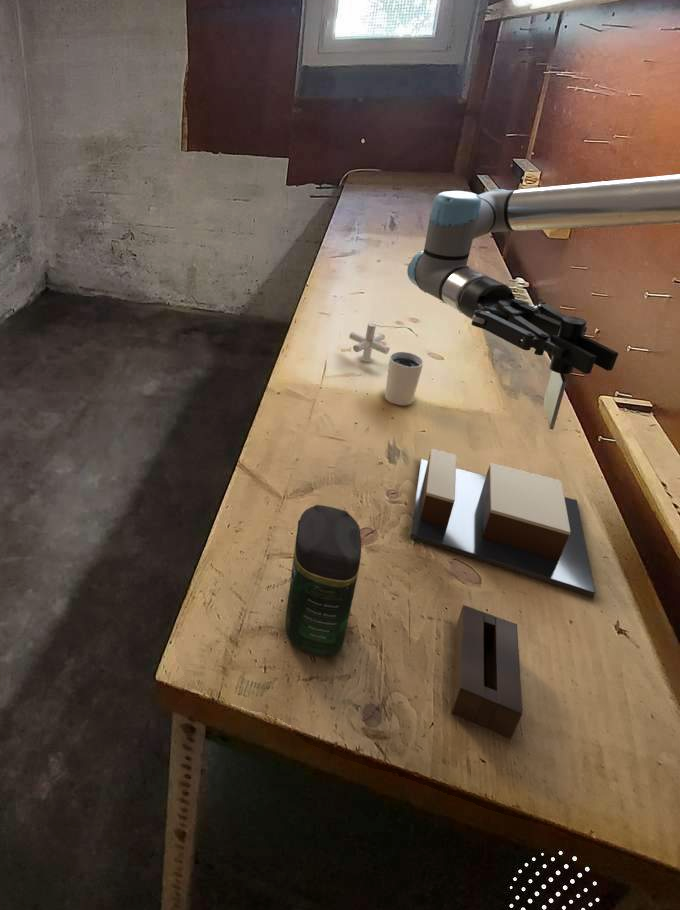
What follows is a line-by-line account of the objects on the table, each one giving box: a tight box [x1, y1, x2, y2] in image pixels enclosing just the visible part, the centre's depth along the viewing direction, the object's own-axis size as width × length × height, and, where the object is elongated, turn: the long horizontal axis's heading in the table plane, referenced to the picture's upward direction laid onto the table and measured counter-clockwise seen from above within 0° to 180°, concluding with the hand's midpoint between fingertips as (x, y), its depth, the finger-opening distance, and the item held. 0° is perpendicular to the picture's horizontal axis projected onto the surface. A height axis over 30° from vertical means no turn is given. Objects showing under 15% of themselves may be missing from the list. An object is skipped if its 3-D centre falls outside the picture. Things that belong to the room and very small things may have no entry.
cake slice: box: [420, 448, 458, 528], centre depth 95 cm, size 4×12×6 cm, turn 152°
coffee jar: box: [285, 504, 362, 658], centre depth 73 cm, size 10×8×19 cm
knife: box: [542, 316, 588, 430], centre depth 83 cm, size 8×3×16 cm, turn 152°
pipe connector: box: [348, 322, 390, 363], centre depth 137 cm, size 10×10×10 cm
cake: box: [482, 462, 571, 561], centre depth 90 cm, size 10×12×6 cm
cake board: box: [409, 458, 597, 598], centre depth 92 cm, size 24×20×1 cm
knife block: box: [451, 604, 524, 739], centre depth 69 cm, size 12×6×5 cm, turn 151°
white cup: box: [384, 351, 424, 406], centre depth 123 cm, size 7×7×10 cm
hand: (601, 363), depth 76 cm, fingers closed on knife, 3 cm apart
